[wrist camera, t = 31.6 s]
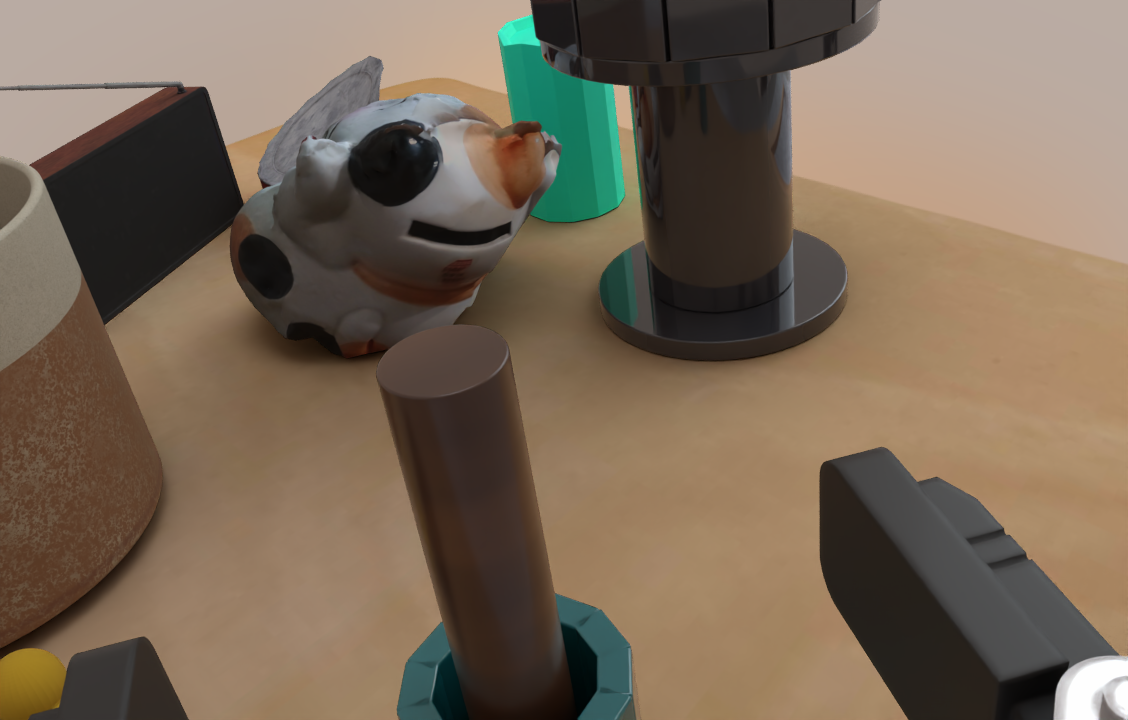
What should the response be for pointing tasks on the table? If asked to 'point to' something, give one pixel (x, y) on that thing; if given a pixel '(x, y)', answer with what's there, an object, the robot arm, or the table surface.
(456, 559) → the stick
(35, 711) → the chess piece
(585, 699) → the holder
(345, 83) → the canned food
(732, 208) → the bowl
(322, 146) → the lucky cat figurine
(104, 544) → the planter
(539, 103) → the candle
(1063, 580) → the table surface
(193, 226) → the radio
